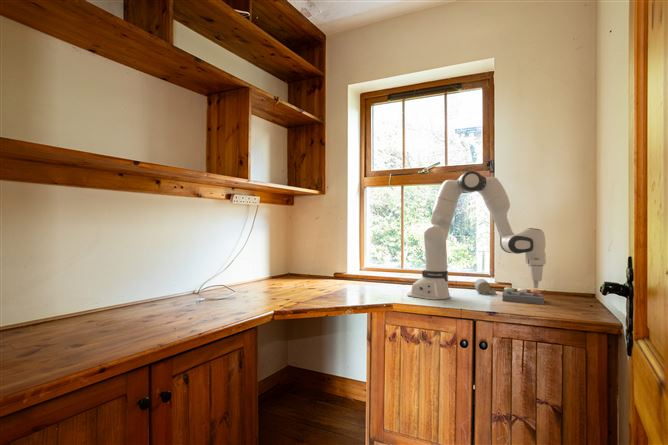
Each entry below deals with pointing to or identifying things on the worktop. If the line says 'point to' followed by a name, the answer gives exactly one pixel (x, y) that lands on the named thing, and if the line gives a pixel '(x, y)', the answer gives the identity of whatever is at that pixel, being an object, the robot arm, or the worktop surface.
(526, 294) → the button panel
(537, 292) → the terracotta button
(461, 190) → the robot arm
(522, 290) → the ivory button
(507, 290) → the sage button
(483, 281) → the ceramic mug
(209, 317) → the worktop surface
